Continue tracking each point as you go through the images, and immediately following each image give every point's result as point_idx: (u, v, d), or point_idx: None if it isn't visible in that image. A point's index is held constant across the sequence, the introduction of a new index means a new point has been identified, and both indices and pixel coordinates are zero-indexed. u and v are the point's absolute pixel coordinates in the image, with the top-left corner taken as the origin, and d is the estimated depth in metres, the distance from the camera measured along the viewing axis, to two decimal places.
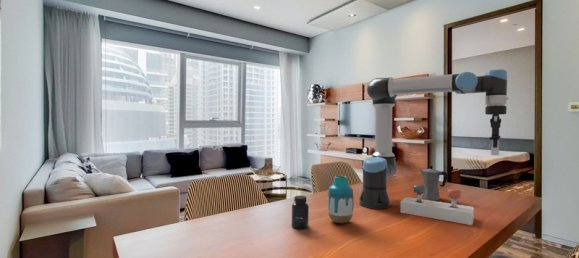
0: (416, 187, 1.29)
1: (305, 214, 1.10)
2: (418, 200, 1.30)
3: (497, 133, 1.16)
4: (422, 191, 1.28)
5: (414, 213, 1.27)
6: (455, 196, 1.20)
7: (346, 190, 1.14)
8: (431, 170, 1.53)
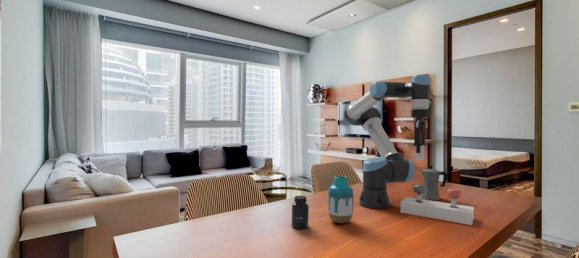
0: (416, 187, 1.29)
1: (305, 214, 1.10)
2: (418, 200, 1.30)
3: (418, 140, 1.25)
4: (422, 191, 1.28)
5: (414, 213, 1.27)
6: (455, 196, 1.20)
7: (346, 190, 1.13)
8: (431, 170, 1.53)
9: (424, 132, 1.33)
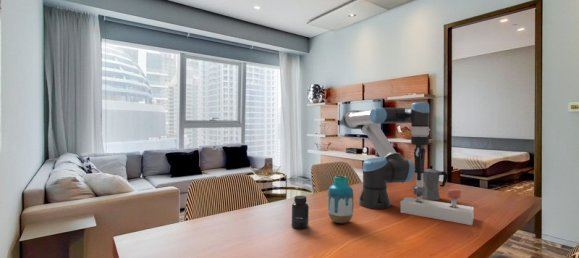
0: (416, 189, 1.29)
1: (305, 214, 1.10)
2: (418, 202, 1.30)
3: (419, 168, 1.27)
4: (422, 193, 1.28)
5: (414, 213, 1.27)
6: (455, 196, 1.20)
7: (346, 190, 1.13)
8: (431, 170, 1.53)
9: (423, 159, 1.32)
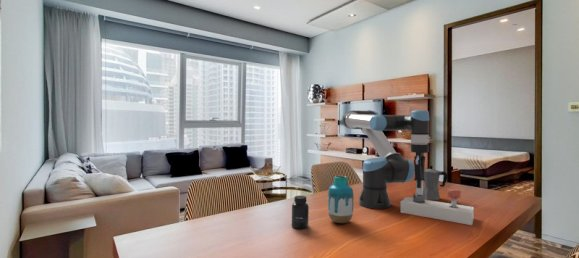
0: (416, 196, 1.29)
1: (305, 214, 1.10)
2: None
3: (419, 176, 1.27)
4: (422, 200, 1.28)
5: (414, 213, 1.27)
6: (455, 196, 1.20)
7: (346, 190, 1.13)
8: (431, 170, 1.53)
9: (423, 167, 1.32)
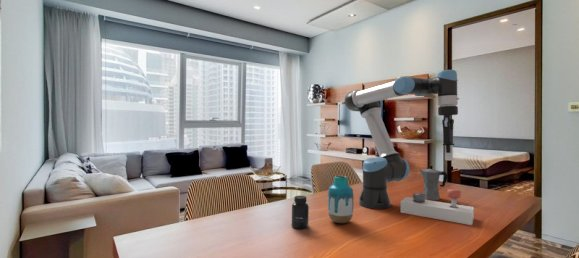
0: (416, 196, 1.29)
1: (305, 214, 1.10)
2: None
3: (448, 140, 1.19)
4: (422, 200, 1.28)
5: (414, 213, 1.27)
6: (455, 196, 1.20)
7: (346, 190, 1.13)
8: (431, 170, 1.53)
9: (452, 131, 1.25)
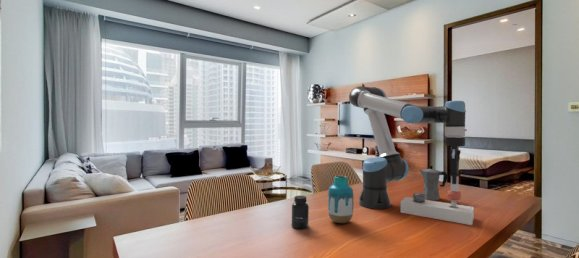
0: (416, 196, 1.29)
1: (305, 214, 1.10)
2: None
3: (455, 171, 1.18)
4: (422, 200, 1.28)
5: (414, 213, 1.27)
6: (455, 198, 1.20)
7: (346, 190, 1.14)
8: (431, 170, 1.53)
9: (458, 161, 1.24)
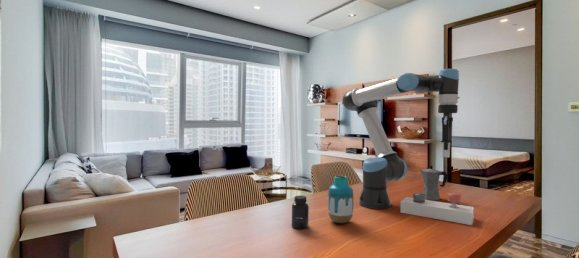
0: (416, 196, 1.29)
1: (305, 214, 1.10)
2: None
3: (447, 137, 1.23)
4: (422, 200, 1.28)
5: (414, 213, 1.27)
6: (455, 200, 1.20)
7: (346, 190, 1.13)
8: (431, 170, 1.53)
9: (450, 129, 1.28)
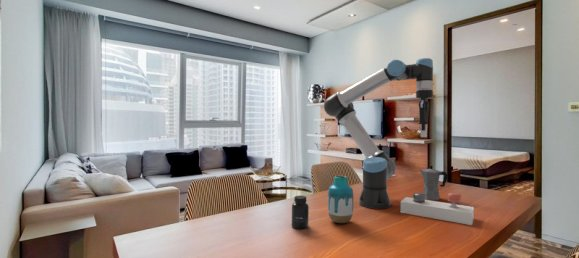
0: (416, 196, 1.29)
1: (305, 214, 1.10)
2: None
3: (423, 119, 1.38)
4: (422, 200, 1.28)
5: (414, 213, 1.27)
6: (455, 200, 1.20)
7: (346, 190, 1.13)
8: (431, 170, 1.53)
9: (427, 112, 1.44)
